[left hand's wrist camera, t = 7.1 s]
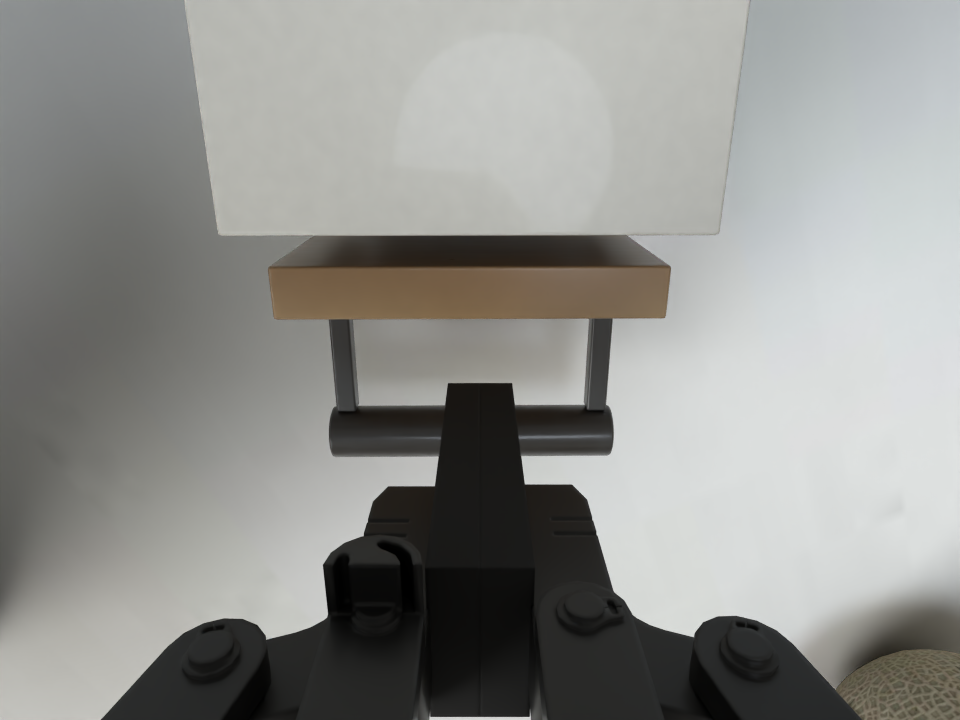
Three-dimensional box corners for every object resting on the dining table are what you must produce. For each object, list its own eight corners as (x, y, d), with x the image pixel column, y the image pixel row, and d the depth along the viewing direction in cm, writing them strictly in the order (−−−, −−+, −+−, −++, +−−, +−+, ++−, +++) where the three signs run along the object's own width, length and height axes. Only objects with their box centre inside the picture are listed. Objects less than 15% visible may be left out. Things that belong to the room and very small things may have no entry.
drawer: (586, 401, 24) (642, 536, 16) (357, 402, 24) (299, 538, 16) (638, -393, 16) (799, -896, 8) (296, -396, 16) (124, -907, 8)
